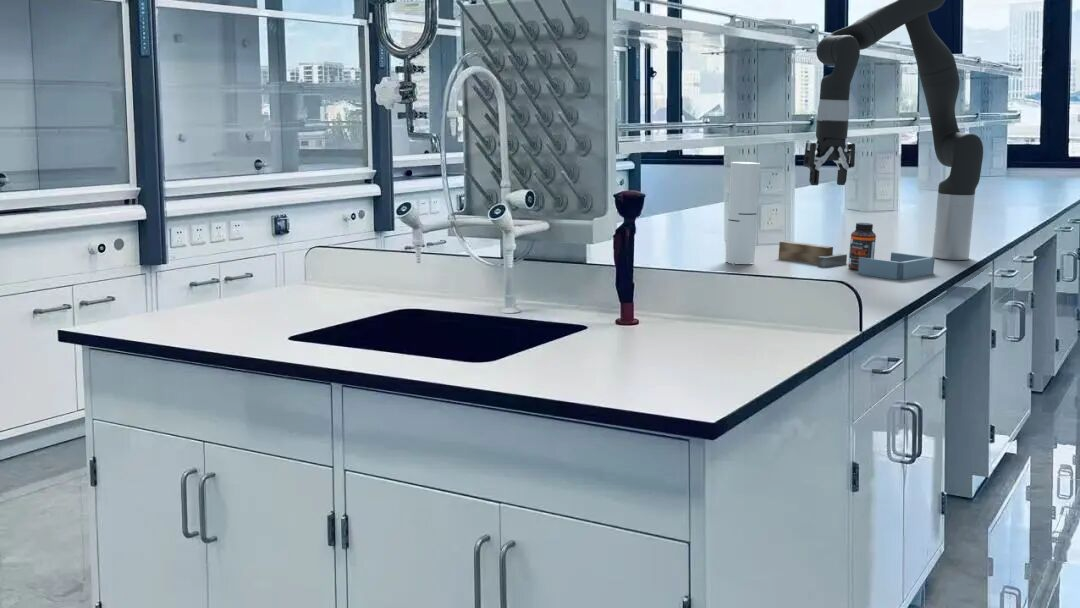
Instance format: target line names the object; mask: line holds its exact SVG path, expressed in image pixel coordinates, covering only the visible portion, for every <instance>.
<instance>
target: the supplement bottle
mask: <svg viewBox="0 0 1080 608" xmlns="http://www.w3.org/2000/svg"><path fill="white" fill-rule="evenodd" d="M873 227H874V224H873V223H869V222H856V223H855V230H853V231H852V232H851V234H850V243H849V244H850V245H849V254H848V268H850V270H856V271H858V268H859V257H865V258H872V259H875V252H876V251H875V250H876V249H875V248H876V239H877V237H876V236H877V235H876V233H875V232H874V230H873Z"/></svg>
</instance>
